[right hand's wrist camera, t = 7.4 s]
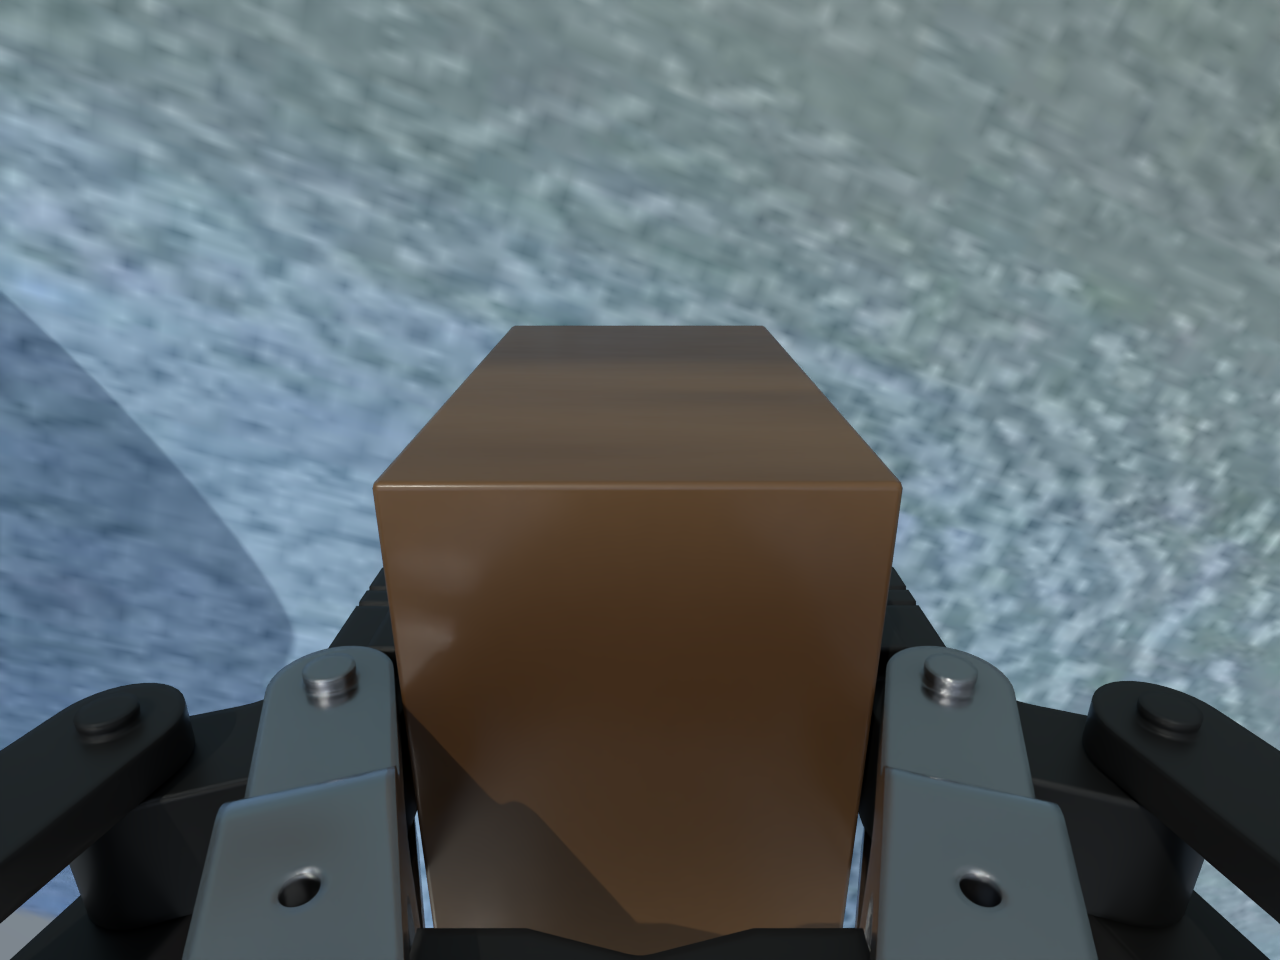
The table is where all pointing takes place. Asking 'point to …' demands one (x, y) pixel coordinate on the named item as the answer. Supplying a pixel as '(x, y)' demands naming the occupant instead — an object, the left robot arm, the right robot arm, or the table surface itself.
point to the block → (637, 635)
